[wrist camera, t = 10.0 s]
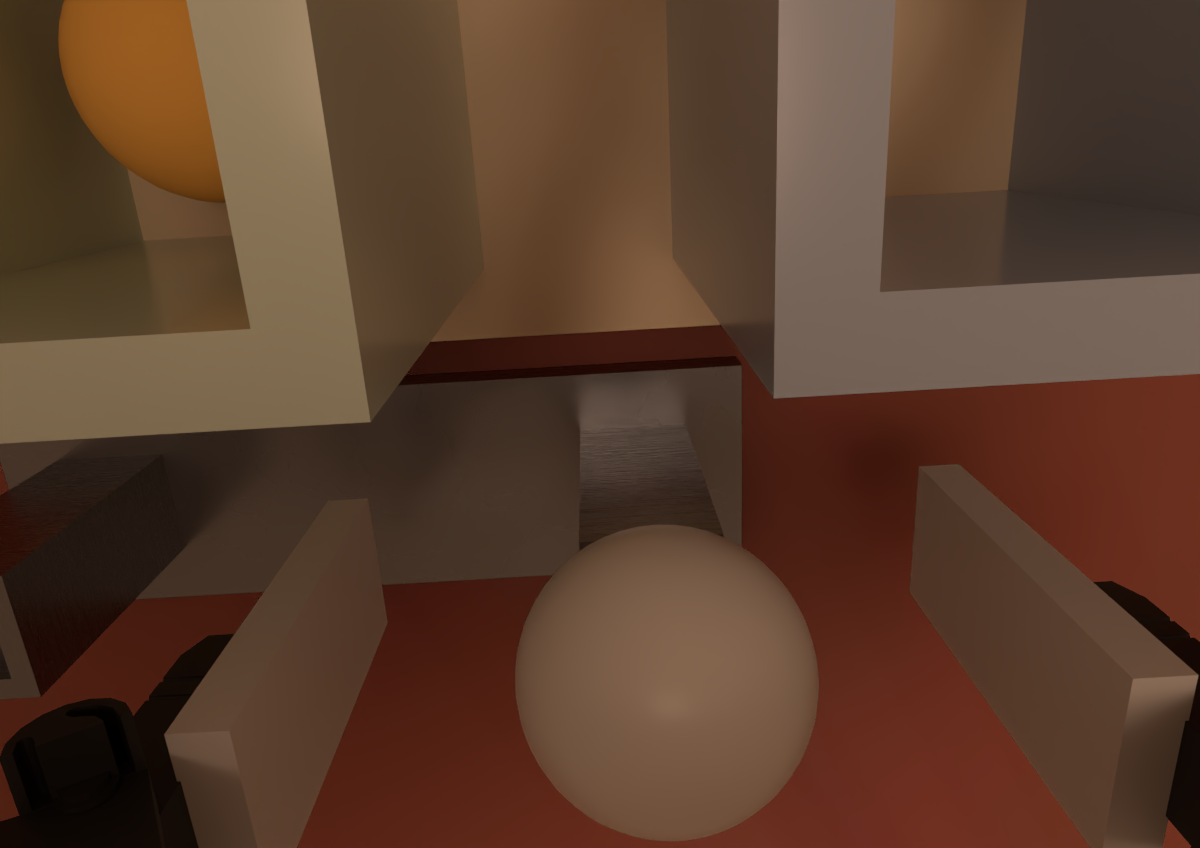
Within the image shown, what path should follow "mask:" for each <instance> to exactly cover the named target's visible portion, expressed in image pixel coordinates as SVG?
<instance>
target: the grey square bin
mask: <svg viewBox="0 0 1200 848" xmlns="http://www.w3.org/2000/svg"><path fill="white" fill-rule="evenodd" d="M895 4H896V0H666V25H667V62H668V100H669V137H670V174H671V212H672V249H673V259H674V260H675V262H676V263H677V265H678V266H679V267H680V269H681V270H682V272H683V273H684V274H685V276H686V277H687V279H688V280H689V281H690V283H691V284H692V286H693V287H694V288H695V290H696V291H697V293H698V294H699V295H700V297H701V298H702V299H703V301H704V302H705V304H706V305H707V306H708V308H709V309H710V311H711V312H712V313H713V315H714V316H715V318H716V319H717V320H718V322H719V323H720V325H721V326H722V327H723V329H724V330H725V331H726V333H727V334H728V336H729V337H730V338H731V340H732V341H733V343H734V344H735V345H736V347H737V348H738V350H739V351H740V352H741V354H742V355H743V357H744V358H745V359H746V361H747V362H748V364H749V365H750V366H751V368H752V369H753V370H754V372H755V373H756V375H757V376H758V377H759V379H760V380H761V382H762V383H763V384H764V386H765V387H766V389H767V390H768V391H769V393H770V394H771V396H772V397H773V398H792V397H809V396H826V395H843V394H860V393H877V392H894V391H912V390H929V389H946V388H963V387H980V386H997V385H1014V384H1032V383H1049V382H1066V381H1083V380H1100V379H1117V378H1134V377H1152V376H1169V375H1186V374H1200V0H1027V3H1026V13H1025V23H1024V33H1023V43H1022V53H1021V62H1020V72H1019V82H1018V92H1017V102H1016V112H1015V122H1014V132H1013V142H1012V152H1011V162H1010V172H1009V182H1008V190H996V191H979V192H962V193H945V194H928V195H911V196H894V197H885V189H886V171H887V152H888V134H889V115H890V97H891V78H892V60H893V41H894V23H895Z"/></svg>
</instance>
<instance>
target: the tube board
mask: <svg viewBox="0 0 1200 848" xmlns="http://www.w3.org/2000/svg"><path fill="white" fill-rule="evenodd" d="M457 2H458V12H459V22H460V32H461V42H462V52H463V62H464V72H465V82H466V92H467V102H468V112H469V122H470V132H471V142H472V152H473V162H474V172H475V182H476V192H477V202H478V212H479V222H480V232H481V242H482V252H483V262H484V270H483V271H482V273H481V274H480V275H479V277H478V278H477V280H476V281H475V282H474V284H473V285H472V286H471V288H470V289H469V290H468V292H467V293H466V294H465V296H464V297H463V298H462V300H461V301H460V302H459V304H458V305H457V306H456V308H455V309H454V310H453V312H452V313H451V315H450V316H449V317H448V319H447V320H446V321H445V323H444V324H443V325H442V327H441V328H440V329H439V331H438V332H437V333H436V335H435V336H434V337H433V339H432V340H431V341H430V342H435V341H453V340H470V339H487V338H504V337H521V336H538V335H555V334H572V333H589V332H607V331H624V330H641V329H658V328H675V327H692V326H709V325H720V323H719V322H718V320H717V319H716V318H715V316H714V315H713V313H712V312H711V311H710V309H709V308H708V306H707V305H706V304H705V302H704V301H703V299H702V298H701V297H700V295H699V294H698V293H697V291H696V290H695V288H694V287H693V286H692V284H691V283H690V281H689V280H688V279H687V277H686V276H685V274H684V273H683V272H682V270H681V269H680V267H679V266H678V265H677V263H676V262H675V260H674V259H673V249H672V212H671V174H670V137H669V100H668V62H667V25H666V0H457ZM1026 3H1027V0H896V4H895V23H894V41H893V60H892V78H891V97H890V115H889V134H888V152H887V171H886V189H885V197H894V196H911V195H928V194H945V193H962V192H979V191H996V190H1008V182H1009V172H1010V162H1011V152H1012V142H1013V132H1014V122H1015V112H1016V102H1017V92H1018V82H1019V72H1020V62H1021V53H1022V43H1023V33H1024V23H1025V13H1026ZM127 170H128V175H129V179H130V183H131V188H132V192H133V197H134V201H135V205H136V210H137V214H138V218H139V223H140V227H141V231H142V236H143V240H161V239H178V238H195V237H212V236H229V235H232V231H231V226H230V221H229V216H228V211H227V206H226V203H222V202H207V201H200V200H194V199H191V198H187V197H184V196H180V195H177V194H173V193H171V192H168V191H166V190H163V189H161V188H159V187H156V186H155V185H153V184H151V183H149V182H147V181H146V180H144V179H142V178H140V177H139V176H137V175H136V174H134V173H133V172H132V171H130V170H129V169H127Z"/></svg>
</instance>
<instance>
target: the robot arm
mask: <svg viewBox="0 0 1200 848" xmlns="http://www.w3.org/2000/svg"><path fill="white" fill-rule="evenodd" d="M909 593H910V594H911V596H912V597H913V598H914V600H915V601H916V603H917V604H918V605H919V607H920V608H921V610H922V611H923V612H924V614H925V615H926V617H927V618H928V619H929V621H930V622H931V624H932V625H933V627H934V628H935V629H936V631H937V632H938V634H939V635H940V636H941V638H942V639H943V641H944V642H945V643H946V645H947V646H948V648H949V649H950V650H951V652H952V653H953V655H954V656H955V658H956V659H957V660H958V662H959V663H960V665H961V666H962V667H963V669H964V670H965V672H966V673H967V674H968V676H969V677H970V679H971V680H972V681H973V683H974V684H975V686H976V687H977V689H978V690H979V691H980V693H981V694H982V696H983V697H984V698H985V700H986V701H987V703H988V704H989V705H990V707H991V708H992V710H993V711H994V712H995V714H996V715H997V717H998V718H999V720H1000V721H1001V722H1002V724H1003V725H1004V727H1005V728H1006V729H1007V731H1008V732H1009V734H1010V735H1011V736H1012V738H1013V739H1014V741H1015V742H1016V743H1017V745H1018V746H1019V748H1020V749H1021V751H1022V752H1023V753H1024V755H1025V756H1026V758H1027V759H1028V760H1029V762H1030V763H1031V765H1032V766H1033V767H1034V769H1035V770H1036V772H1037V773H1038V774H1039V776H1040V777H1041V779H1042V780H1043V782H1044V783H1045V784H1046V786H1047V787H1048V789H1049V790H1050V791H1051V793H1052V794H1053V796H1054V797H1055V798H1056V800H1057V801H1058V803H1059V804H1060V806H1061V807H1062V808H1063V810H1064V811H1065V813H1066V814H1067V815H1068V817H1069V818H1070V820H1071V821H1072V822H1073V824H1074V825H1075V827H1076V828H1077V829H1078V831H1079V832H1080V834H1081V835H1082V837H1083V838H1084V839H1085V841H1086V842H1087V844H1088V845H1089V846H1090V848H1162V846H1163V842H1164V837H1165V832H1166V827H1167V823H1168V819H1169V820H1170V822H1171V823H1172V824H1173V825H1174V826H1175V827H1176V829H1177V830H1178V831H1179V832H1180V833H1181V834H1182V836H1183V837H1184V838H1185V839H1186V840H1187V841H1188V843H1189V844H1190V845H1191V848H1200V642H1199V641H1198V640H1196V639H1195V638H1190V636H1189V633H1188V632H1187V631H1186V630H1184V629H1183V628H1182V627H1181V626H1179V625H1178V624H1177V623H1176V622H1175V621H1172V622H1171V621H1170V617H1169V616H1167V615H1166V614H1165V613H1164V612H1162V611H1161V610H1160V609H1159V608H1158V607H1156V606H1155V605H1154V604H1153V603H1152V602H1150V601H1149V600H1148V599H1147V598H1145V597H1143V596H1141V595H1139V594H1137V593H1135V592H1133V591H1131V590H1129V589H1127V588H1125V587H1123V586H1121V585H1118V584H1116V583H1114V582H1112V581H1108V582H1092V581H1091V580H1090V579H1089V578H1088V577H1087V576H1085V575H1084V574H1083V573H1082V572H1081V571H1080V570H1079V569H1077V568H1076V567H1075V566H1074V565H1073V564H1072V563H1071V562H1069V561H1068V560H1067V559H1066V558H1065V557H1064V556H1063V555H1062V554H1060V553H1059V552H1058V551H1057V550H1056V549H1055V548H1054V547H1052V546H1051V545H1050V544H1049V543H1048V542H1047V541H1046V540H1044V539H1043V538H1042V537H1041V536H1040V535H1039V534H1038V533H1037V532H1035V531H1034V530H1033V529H1032V528H1031V527H1030V526H1029V525H1027V524H1026V523H1025V522H1024V521H1023V520H1022V519H1021V518H1019V517H1018V516H1017V515H1016V514H1015V513H1014V512H1013V511H1012V510H1010V509H1009V508H1008V507H1007V506H1006V505H1005V504H1004V503H1002V502H1001V501H1000V500H999V499H998V498H997V497H996V496H994V495H993V494H992V493H991V492H990V491H989V490H988V489H987V488H985V487H984V486H983V485H982V484H981V483H980V482H979V481H977V480H976V479H975V478H974V477H973V476H972V475H971V474H969V473H968V472H967V471H966V470H965V469H964V468H963V467H962V466H960V465H959V464H952V465H934V466H919V471H918V485H917V498H916V512H915V525H914V539H913V552H912V565H911V579H910V592H909ZM387 623H388V621H387V615H386V608H385V602H384V596H383V590H382V583H381V577H380V571H379V565H378V558H377V552H376V546H375V539H374V533H373V527H372V521H371V514H370V508H369V502H368V498H365V499H348V500H331V501H328V502H327V503H326V504H325V506H324V507H323V509H322V510H321V512H320V513H319V514H318V516H317V517H316V519H315V520H314V522H313V523H312V524H311V526H310V527H309V529H308V530H307V531H306V533H305V534H304V536H303V537H302V539H301V540H300V541H299V543H298V544H297V546H296V547H295V549H294V550H293V551H292V553H291V554H290V556H289V557H288V559H287V560H286V561H285V563H284V564H283V566H282V567H281V569H280V570H279V571H278V573H277V574H276V576H275V577H274V579H273V580H272V581H271V583H270V584H269V586H268V587H267V589H266V590H265V591H264V593H263V594H262V596H261V597H260V599H259V600H258V601H257V603H256V604H255V606H254V607H253V609H252V610H251V611H250V613H249V614H248V616H247V617H246V618H245V620H244V621H243V623H242V624H241V626H240V627H239V628H238V630H237V631H236V633H235V634H229V635H212V636H207V637H206V638H205V639H203V640H202V641H200V642H199V643H198V644H196V645H195V646H193V647H192V648H191V649H189V650H188V651H186V652H185V653H184V654H182V655H181V656H180V657H179V658H178V660H177V661H176V662H175V664H174V665H173V666H172V667H171V669H170V670H169V671H168V673H167V674H166V675H165V676H164V678H163V679H164V680H163V682H160V683H159V684H158V685H157V687H156V688H155V689H154V691H153V692H152V693H151V694H150V696H149V701H145V702H144V704H143V705H142V706H141V707H140V709H139V710H138V711H137V713H136V714H135V715H134V716H133V715H132V712H131V710H130V709H129V707H128V706H127V705H126V703H124V702H121V701H118V700H115V699H112V698H104V699H88V700H84V701H80V702H76V703H72V704H67V705H65V706H62V707H60V708H58V709H55V710H53V711H50V712H48V713H46V714H43V715H41V716H40V717H38V718H37V719H35V720H34V721H32V722H30V723H29V724H27V725H26V726H24V727H22V728H21V729H20V730H19V731H18V732H17V733H16V734H15V735H14V736H13V737H12V738H11V739H10V740H9V741H8V742H7V743H6V744H5V746H4V748H3V751H2V753H1V755H0V762H1V765H2V767H3V770H4V773H5V776H6V779H7V781H8V784H9V787H10V790H11V793H12V796H13V798H14V801H15V804H16V807H17V810H18V812H19V815H20V816H17V817H14V818H11V819H8V820H4V821H0V848H297V847H298V844H299V842H300V839H301V837H302V834H303V832H304V829H305V827H306V824H307V822H308V819H309V817H310V814H311V812H312V809H313V807H314V804H315V802H316V799H317V797H318V795H319V792H320V790H321V787H322V785H323V782H324V780H325V777H326V775H327V772H328V770H329V767H330V765H331V762H332V760H333V757H334V755H335V752H336V750H337V747H338V745H339V742H340V740H341V737H342V735H343V733H344V730H345V728H346V725H347V723H348V720H349V718H350V715H351V713H352V710H353V708H354V705H355V703H356V700H357V698H358V695H359V693H360V690H361V688H362V685H363V683H364V680H365V678H366V676H367V673H368V671H369V668H370V666H371V663H372V661H373V658H374V656H375V653H376V651H377V648H378V646H379V643H380V641H381V638H382V636H383V633H384V631H385V628H386V626H387Z"/></svg>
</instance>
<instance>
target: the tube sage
mask: <svg viewBox="0 0 1200 848" xmlns="http://www.w3.org/2000/svg"><path fill="white" fill-rule="evenodd" d="M186 1H187V6H188V11H189V17H190V22H191V27H192V32H193V37H194V42H195V47H196V52H197V57H198V63H199V68H200V73H201V78H202V83H203V88H204V93H205V98H206V104H207V109H208V114H209V119H210V124H211V129H212V134H213V139H214V144H215V150H216V155H217V160H218V165H219V170H220V175H221V180H222V185H223V191H224V196H225V201H226V206H227V211H228V216H229V221H230V226H231V231H232V235H229V236H212V237H195V238H178V239H161V240H143V236H142V231H141V227H140V223H139V218H138V214H137V210H136V205H135V201H134V197H133V192H132V188H131V183H130V179H129V175H128V170H127V168H126V167H125V166H123V165H122V164H121V163H120V162H118V161H117V160H116V159H115V158H114V157H113V156H112V155H111V154H110V153H108V151H107V150H106V149H105V148H104V147H103V146H102V145H101V144H100V143H99V141H98V140H97V139H96V138H95V136H94V135H93V134H92V132H91V131H90V130H89V128H88V127H87V125H86V124H85V123H84V121H83V120H82V118H81V116H80V114H79V113H78V111H77V109H76V107H75V106H74V103H73V101H72V99H71V96H70V94H69V92H68V89H67V86H66V83H65V80H64V76H63V73H62V68H61V63H60V57H59V44H58V33H59V20H60V15H61V10H62V5H63V2H64V0H0V444H3V443H20V442H37V441H55V440H72V439H89V438H106V437H123V436H140V435H157V434H175V433H192V432H209V431H226V430H243V429H260V428H277V427H295V426H312V425H329V424H346V423H363V422H371V421H372V420H373V418H374V417H375V415H376V414H377V413H378V411H379V410H380V409H381V407H382V406H383V405H384V403H385V402H386V401H387V399H388V398H389V397H390V395H391V394H392V393H393V391H394V390H395V389H396V387H397V386H398V385H399V383H400V382H401V380H402V379H403V378H404V376H405V375H406V374H407V372H408V371H409V370H410V368H411V367H412V366H413V364H414V363H415V362H416V360H417V359H418V358H419V356H420V355H421V354H422V352H423V351H424V350H425V348H426V347H427V345H428V344H429V343H430V341H431V340H432V339H433V337H434V336H435V335H436V333H437V332H438V331H439V329H440V328H441V327H442V325H443V324H444V323H445V321H446V320H447V319H448V317H449V316H450V315H451V313H452V312H453V310H454V309H455V308H456V306H457V305H458V304H459V302H460V301H461V300H462V298H463V297H464V296H465V294H466V293H467V292H468V290H469V289H470V288H471V286H472V285H473V284H474V282H475V281H476V280H477V278H478V277H479V275H480V274H481V273H482V271H483V270H484V262H483V252H482V242H481V232H480V222H479V212H478V202H477V192H476V182H475V172H474V162H473V152H472V142H471V132H470V122H469V112H468V102H467V92H466V82H465V72H464V62H463V52H462V42H461V32H460V22H459V12H458V2H457V0H186Z"/></svg>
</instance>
